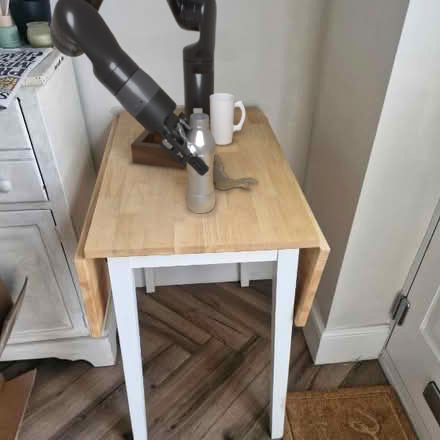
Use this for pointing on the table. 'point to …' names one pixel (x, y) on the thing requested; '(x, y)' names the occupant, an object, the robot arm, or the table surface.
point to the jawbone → (223, 181)
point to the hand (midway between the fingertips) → (208, 164)
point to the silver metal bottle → (205, 149)
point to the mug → (224, 117)
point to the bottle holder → (152, 151)
